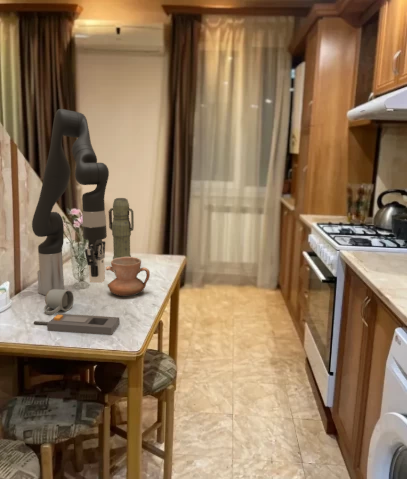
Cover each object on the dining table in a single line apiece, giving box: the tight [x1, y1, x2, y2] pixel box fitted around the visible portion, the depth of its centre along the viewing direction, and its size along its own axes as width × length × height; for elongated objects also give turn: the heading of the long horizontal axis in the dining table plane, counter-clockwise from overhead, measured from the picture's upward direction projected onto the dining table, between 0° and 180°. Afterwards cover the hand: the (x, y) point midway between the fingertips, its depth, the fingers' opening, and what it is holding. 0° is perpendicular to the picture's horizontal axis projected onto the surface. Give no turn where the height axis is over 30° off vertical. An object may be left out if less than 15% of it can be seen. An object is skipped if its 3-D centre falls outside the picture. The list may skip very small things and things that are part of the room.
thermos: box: [108, 197, 135, 260], centre depth 221 cm, size 9×12×35 cm
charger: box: [88, 254, 106, 284], centre depth 155 cm, size 4×4×9 cm
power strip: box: [33, 313, 121, 336], centre depth 158 cm, size 29×9×3 cm, turn 83°
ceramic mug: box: [43, 289, 74, 316], centre depth 172 cm, size 11×8×8 cm
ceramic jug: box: [105, 256, 151, 297], centre depth 191 cm, size 18×14×14 cm
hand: (97, 274), depth 156 cm, fingers closed on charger, 4 cm apart
